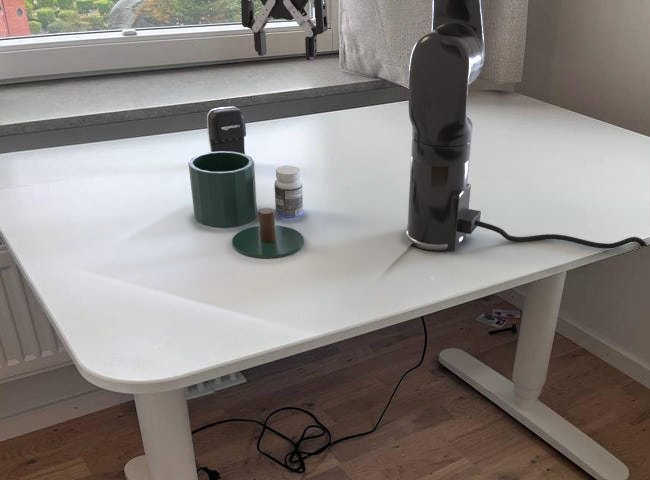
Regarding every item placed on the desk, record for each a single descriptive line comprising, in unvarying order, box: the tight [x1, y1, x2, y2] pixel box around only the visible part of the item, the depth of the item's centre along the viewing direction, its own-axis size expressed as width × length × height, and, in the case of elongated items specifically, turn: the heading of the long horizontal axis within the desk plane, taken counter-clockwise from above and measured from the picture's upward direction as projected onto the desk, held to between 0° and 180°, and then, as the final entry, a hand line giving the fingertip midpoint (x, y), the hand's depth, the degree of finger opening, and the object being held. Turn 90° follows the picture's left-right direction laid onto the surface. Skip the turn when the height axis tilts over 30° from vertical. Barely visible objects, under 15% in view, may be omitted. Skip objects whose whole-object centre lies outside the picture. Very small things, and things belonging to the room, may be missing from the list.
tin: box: [187, 151, 258, 229], centre depth 131 cm, size 10×10×10 cm
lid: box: [231, 207, 305, 259], centre depth 124 cm, size 11×11×6 cm
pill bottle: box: [274, 165, 304, 219], centre depth 133 cm, size 5×5×8 cm
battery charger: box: [206, 106, 247, 154], centre depth 150 cm, size 7×4×11 cm, turn 122°
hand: (286, 57), depth 131 cm, fingers open, 8 cm apart
